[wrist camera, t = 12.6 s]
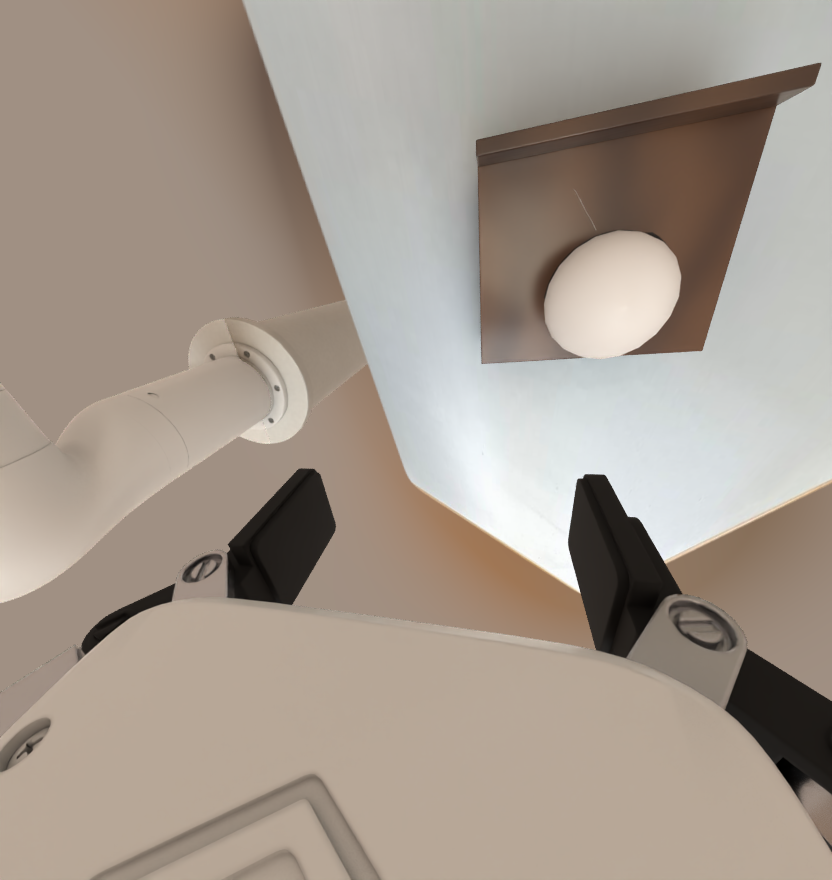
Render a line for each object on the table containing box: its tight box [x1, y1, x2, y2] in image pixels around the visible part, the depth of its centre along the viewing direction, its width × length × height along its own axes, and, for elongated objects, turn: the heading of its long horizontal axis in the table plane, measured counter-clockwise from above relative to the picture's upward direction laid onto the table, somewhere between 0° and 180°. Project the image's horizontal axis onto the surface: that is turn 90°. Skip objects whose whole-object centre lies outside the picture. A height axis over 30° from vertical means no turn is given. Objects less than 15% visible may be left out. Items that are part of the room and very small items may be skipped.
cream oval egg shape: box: [544, 190, 681, 359], centre depth 19 cm, size 10×7×7 cm
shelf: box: [476, 63, 821, 364], centre depth 24 cm, size 16×14×10 cm
